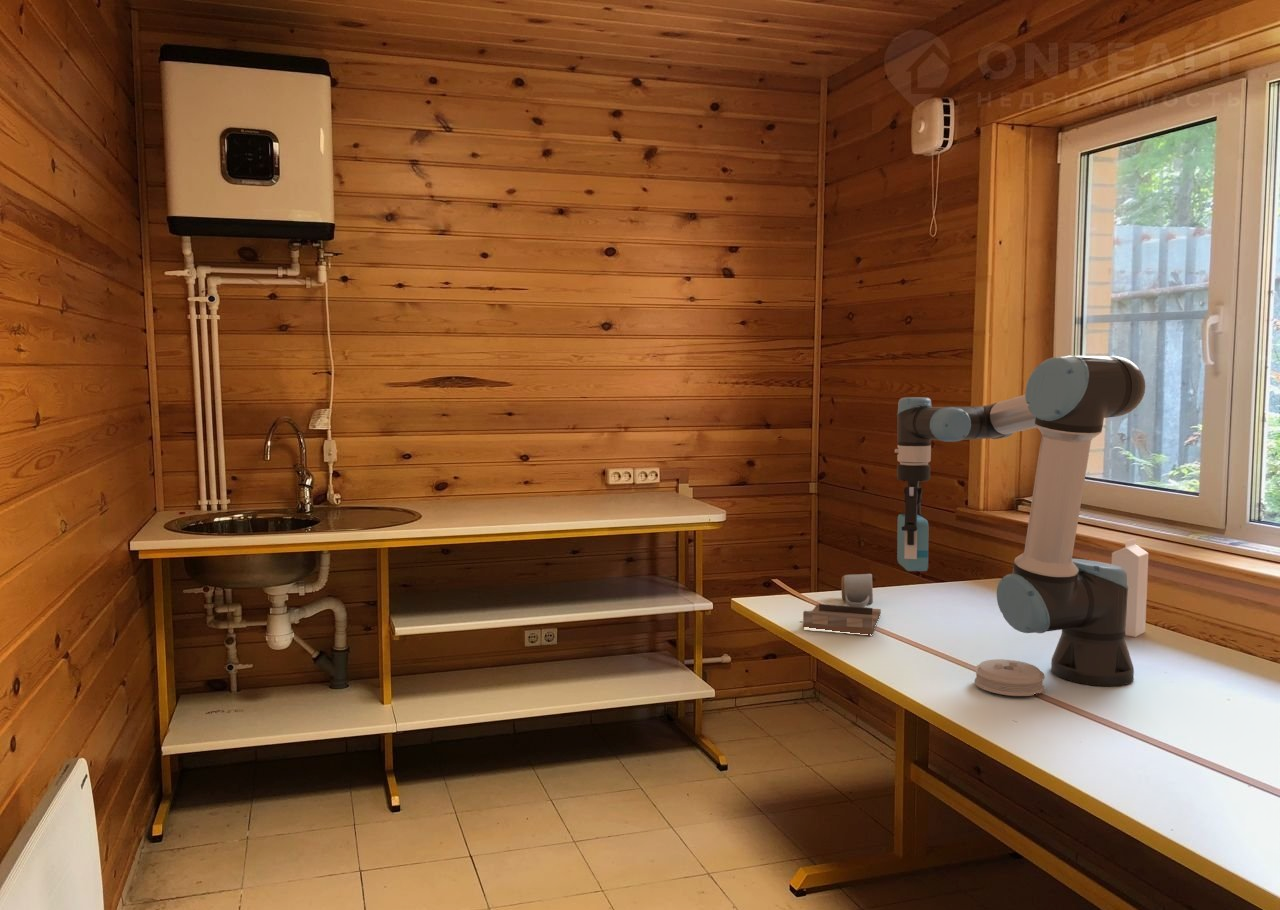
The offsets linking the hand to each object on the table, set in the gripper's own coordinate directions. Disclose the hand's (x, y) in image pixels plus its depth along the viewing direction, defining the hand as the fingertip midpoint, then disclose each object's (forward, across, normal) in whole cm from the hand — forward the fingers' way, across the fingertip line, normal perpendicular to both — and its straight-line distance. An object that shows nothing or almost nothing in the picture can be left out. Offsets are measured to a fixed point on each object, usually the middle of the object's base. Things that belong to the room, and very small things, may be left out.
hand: (912, 553), depth 227 cm
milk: (+19, -13, +48) cm, 53 cm away
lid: (+19, +37, +21) cm, 46 cm away
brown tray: (+18, -1, -16) cm, 24 cm away
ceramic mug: (+18, -22, -15) cm, 32 cm away
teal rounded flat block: (+4, 0, 0) cm, 4 cm away
